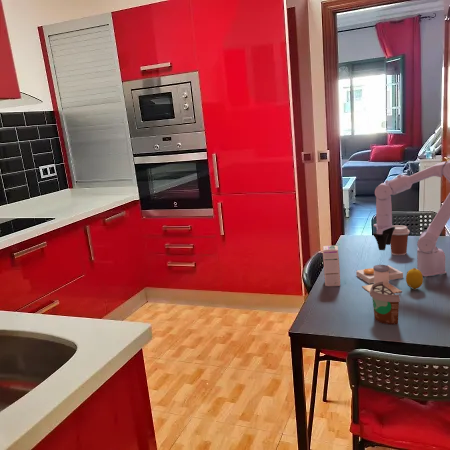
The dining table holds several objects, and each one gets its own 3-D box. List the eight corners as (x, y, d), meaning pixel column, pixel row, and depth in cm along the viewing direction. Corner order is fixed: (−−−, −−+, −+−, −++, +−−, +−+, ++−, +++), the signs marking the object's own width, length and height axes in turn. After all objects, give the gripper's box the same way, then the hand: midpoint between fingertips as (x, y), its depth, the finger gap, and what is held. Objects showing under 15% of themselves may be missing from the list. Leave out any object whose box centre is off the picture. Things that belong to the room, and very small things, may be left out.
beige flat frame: (388, 269, 180) (388, 265, 179) (403, 277, 170) (403, 272, 170) (356, 275, 177) (356, 270, 177) (369, 283, 168) (368, 278, 167)
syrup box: (340, 286, 168) (339, 249, 165) (324, 286, 169) (322, 249, 166) (340, 280, 174) (338, 244, 170) (324, 281, 175) (322, 245, 172)
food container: (364, 312, 145) (363, 283, 143) (382, 309, 145) (382, 280, 143) (380, 329, 133) (379, 297, 131) (400, 326, 133) (399, 295, 131)
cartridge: (375, 284, 165) (375, 264, 163) (390, 286, 162) (391, 265, 160) (371, 289, 160) (371, 268, 159) (387, 291, 158) (387, 270, 156)
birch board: (386, 282, 167) (386, 281, 167) (401, 292, 157) (401, 291, 157) (361, 287, 165) (361, 286, 165) (375, 296, 156) (375, 295, 155)
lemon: (422, 286, 160) (422, 265, 158) (423, 292, 155) (423, 270, 153) (405, 286, 162) (405, 265, 160) (406, 292, 157) (406, 270, 155)
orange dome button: (372, 275, 175) (371, 267, 175) (377, 278, 171) (377, 271, 171) (361, 276, 175) (361, 269, 174) (367, 280, 170) (367, 273, 170)
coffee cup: (411, 251, 200) (411, 224, 197) (407, 257, 192) (407, 230, 190) (390, 249, 205) (390, 224, 202) (385, 255, 197) (385, 229, 195)
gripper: (378, 209, 183) (379, 241, 186) (368, 217, 172) (369, 251, 175) (396, 210, 179) (397, 242, 182) (387, 218, 168) (387, 253, 171)
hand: (384, 247), depth 178 cm, fingers open, 7 cm apart
